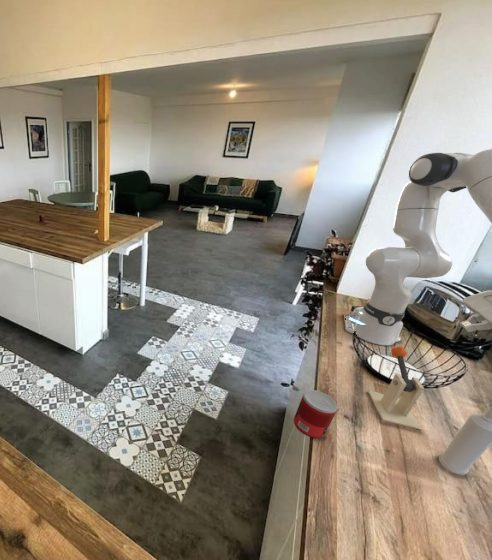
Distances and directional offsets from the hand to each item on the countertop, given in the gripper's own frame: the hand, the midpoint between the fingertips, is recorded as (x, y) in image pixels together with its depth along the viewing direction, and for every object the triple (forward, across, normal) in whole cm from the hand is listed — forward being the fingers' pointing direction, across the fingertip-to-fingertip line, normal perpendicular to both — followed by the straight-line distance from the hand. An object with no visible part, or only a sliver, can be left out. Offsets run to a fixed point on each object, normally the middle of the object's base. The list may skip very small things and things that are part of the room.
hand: (463, 327), depth 88 cm
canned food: (+45, +26, -6) cm, 52 cm away
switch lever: (+19, +4, +4) cm, 20 cm away
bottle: (+22, +26, +17) cm, 38 cm away
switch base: (+27, +10, +12) cm, 31 cm away
